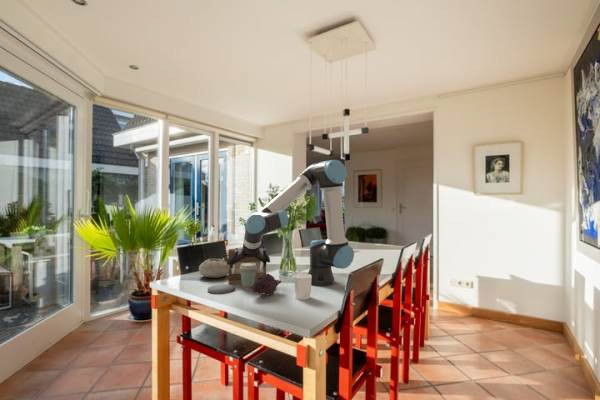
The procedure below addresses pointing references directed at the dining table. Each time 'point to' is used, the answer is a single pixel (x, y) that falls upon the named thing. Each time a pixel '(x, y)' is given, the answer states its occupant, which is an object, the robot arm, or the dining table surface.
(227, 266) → the beige rounded lump
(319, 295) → the dining table surface
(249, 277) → the coffee cup
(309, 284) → the white cup
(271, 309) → the dining table surface
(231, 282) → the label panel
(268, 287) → the pine cone
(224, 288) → the rubber mat
